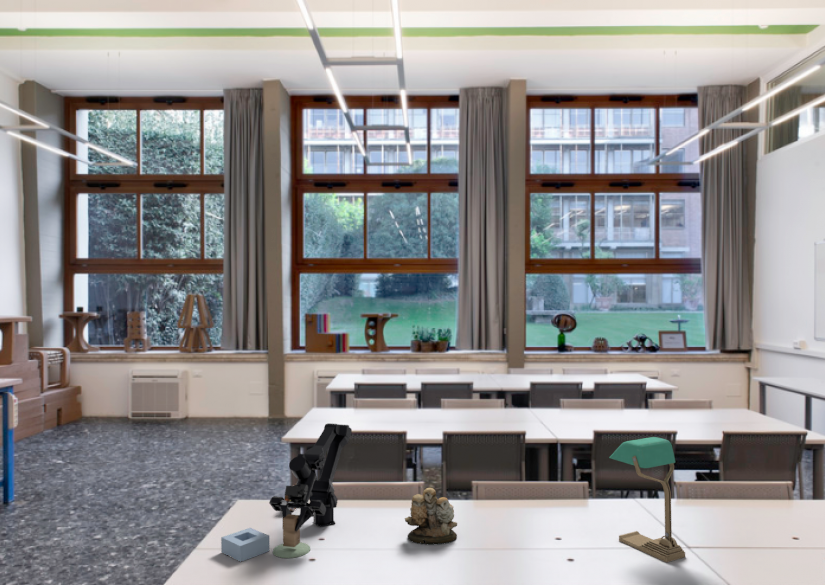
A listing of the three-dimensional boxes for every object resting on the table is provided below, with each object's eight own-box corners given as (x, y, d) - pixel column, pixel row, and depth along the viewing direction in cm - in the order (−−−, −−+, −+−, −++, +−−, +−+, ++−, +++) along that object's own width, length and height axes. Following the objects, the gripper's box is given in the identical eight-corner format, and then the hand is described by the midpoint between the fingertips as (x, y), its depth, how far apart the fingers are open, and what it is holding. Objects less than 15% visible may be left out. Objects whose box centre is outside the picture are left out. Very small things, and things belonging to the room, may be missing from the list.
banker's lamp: (658, 565, 188) (656, 450, 188) (607, 541, 207) (606, 437, 207) (693, 554, 195) (691, 444, 196) (641, 532, 214) (639, 432, 214)
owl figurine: (406, 546, 204) (405, 495, 205) (403, 533, 216) (402, 484, 217) (459, 543, 206) (458, 492, 206) (454, 530, 218) (453, 482, 218)
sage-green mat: (304, 540, 210) (304, 539, 210) (314, 553, 199) (314, 552, 199) (269, 547, 205) (269, 546, 205) (278, 561, 194) (278, 559, 194)
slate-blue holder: (250, 542, 209) (250, 527, 209) (269, 550, 202) (269, 535, 202) (221, 552, 201) (221, 537, 201) (240, 561, 194) (240, 546, 194)
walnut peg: (289, 541, 204) (288, 514, 204) (299, 542, 203) (299, 515, 203) (283, 545, 201) (282, 518, 201) (294, 547, 199) (294, 519, 200)
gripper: (271, 472, 209) (254, 516, 198) (322, 476, 203) (307, 521, 193) (283, 488, 216) (267, 531, 205) (332, 492, 211) (318, 537, 200)
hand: (289, 530), depth 201 cm, fingers closed on walnut peg, 4 cm apart
